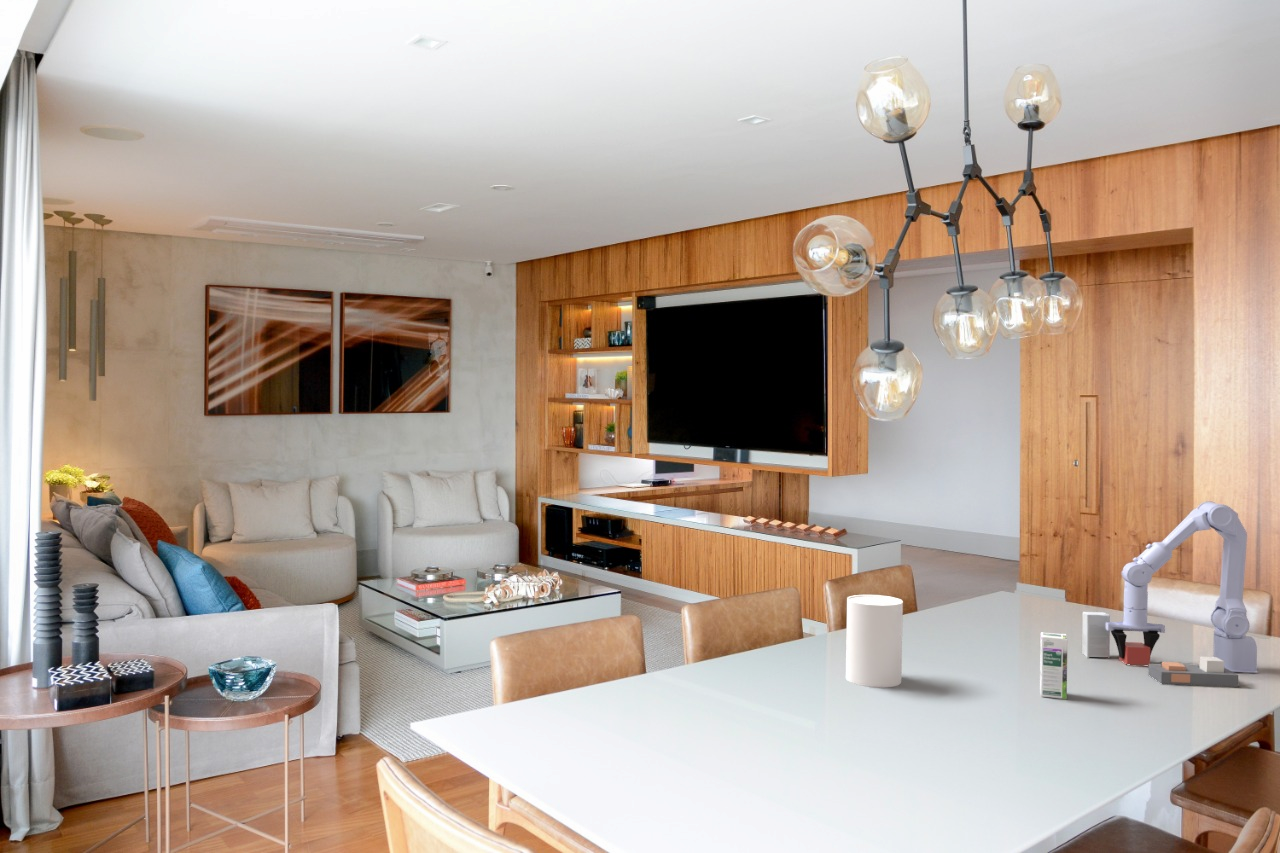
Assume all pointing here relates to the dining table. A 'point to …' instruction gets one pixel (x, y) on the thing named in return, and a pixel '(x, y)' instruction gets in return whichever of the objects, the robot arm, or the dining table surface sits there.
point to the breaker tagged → (1173, 666)
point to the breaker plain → (1212, 664)
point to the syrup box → (1053, 665)
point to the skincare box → (1095, 634)
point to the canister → (874, 640)
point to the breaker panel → (1193, 676)
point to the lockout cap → (1136, 654)
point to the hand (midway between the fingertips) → (1134, 658)
